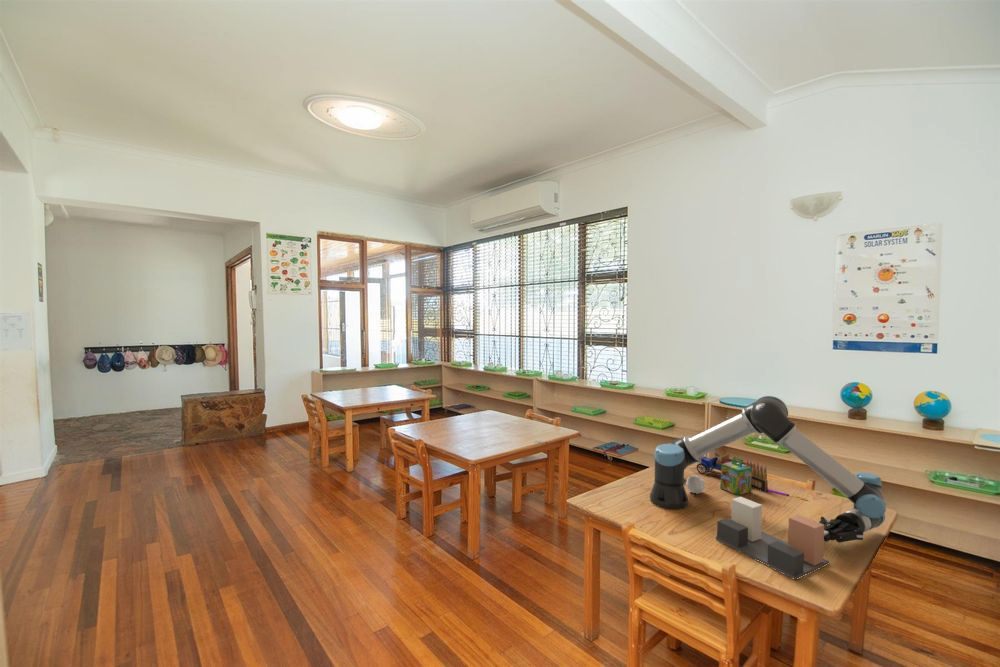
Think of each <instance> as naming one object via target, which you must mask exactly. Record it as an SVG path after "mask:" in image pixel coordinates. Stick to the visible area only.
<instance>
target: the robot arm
mask: <svg viewBox="0 0 1000 667" xmlns="http://www.w3.org/2000/svg"><path fill="white" fill-rule="evenodd" d="M788 416H789V410H788V407H787V405H786V403H785V402H784V401H783V400H782V399H780V398H778V397H776V396H772V395H765V396H761V397H760V398H758V399H757V400H756V401H755V402H752V403H750V404H749V405H747V406H744V407H743V408H742V411H741V412H740V413H739V414H736V415H734V416H733V417H731V418H729V419H726V420H724V421H722V422H721V423H718V424H716V425H714V426H711V427H709V428H708V429H707V428H706V429H705V430H704V431H701V432H700V433H697V434H695V435H693V436H692V437H691V436H688V435H685V436H683V437H680V438H678V439H674V440H672V441H670V442H669V443H663V444H659V445H657V446H656V447H655V449H654V453H653V454H654V455H653V456H654V482H653V485H652V488H651V490H650V493H649V501H650V500H651V501H650V502H651V503H652V502H653V503H654V505H655V504H656V505H655V506H657V505H658V507H661V508H664V509H669V510H682V509H686V508H687V507H688V505H689V498H688V495H687V492H686V488H685V486H684V485H685V481H684V480H685V474H684V473H685V470H686V468H688V467H689V466H692V465H693V464H695V463H699V462H698V461H701V458H702V457H703V456H704V455H706V454H708V453H711V452H713V451H716V450H718V449H720V448H723V447H725V446H726V445H728V444H731V443H734V442H735V441H738V440H740V439H742V438H744V437H746V436H749V435H750V434H752V433H756V434H760V435H761V434H764V435H765V436H767V438H769V439H770V440H771V441H773V442H774V444H779V445H782V446H783V447H785V448H786V449H787V450H788V451H789V452H791V454H793V455H794V456H795V457H796V458H798V459H799V460H800V461H802V462H803V463H804V464H805V465H806V466H807V467H809V468H810V469H811V470H812V471H814V472H815V473H816V474H817V475H818V476H820V477H822V479H823V480H824V481H826V482H828V484H829V485H830V486H832V487H833V488H834V489H836V490H837V491H838V492H839V493H841V494H842V495H843V496H844V497H845V498H847V500H849V501H850V502H851V503H853V509H850V510H847V511H845V512H843V513H840V514H838V515H837V516H835V518H831V519H829V520H828V519H827V518H825V517H824V516H821V517H820V521H818V523H821V524H824V542H829V541H832V542H833V541H836V542H837V543H845V542H852V541H864V533H866V532H868V531H870V530H873V529H875V528H878V527H879V526H881V525H882V524H883V523H884V522H885V521H886V515H885V514H886V510H887V508H886V507H887V504H886V502H885V499H884V496H883V493H882V487H883V485H882V478H881V477H880V476H878V475H876V474H874V473H870V472H865V471H864V472H863V471H861V472H856V473H855V474H853V473H852V472H851V471H849V469H847V468H846V467H845V466H844V465H842V464H841V463H840V462H838V461H837V460H836V459H834V457H832V456H831V455H829V453H827V452H826V451H825V450H823V449H822V448H821V447H820V446H818V445H817V444H816V443H814V442H813V441H812V440H811V439H809V438H808V437H807V436H806V435H805V434H803V433H802V432H800V431H799V430H798V429H797V425H796V424H795V423H794V422H793V421H792V420H790V419H789V417H788ZM653 503H652V504H653Z"/></svg>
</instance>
